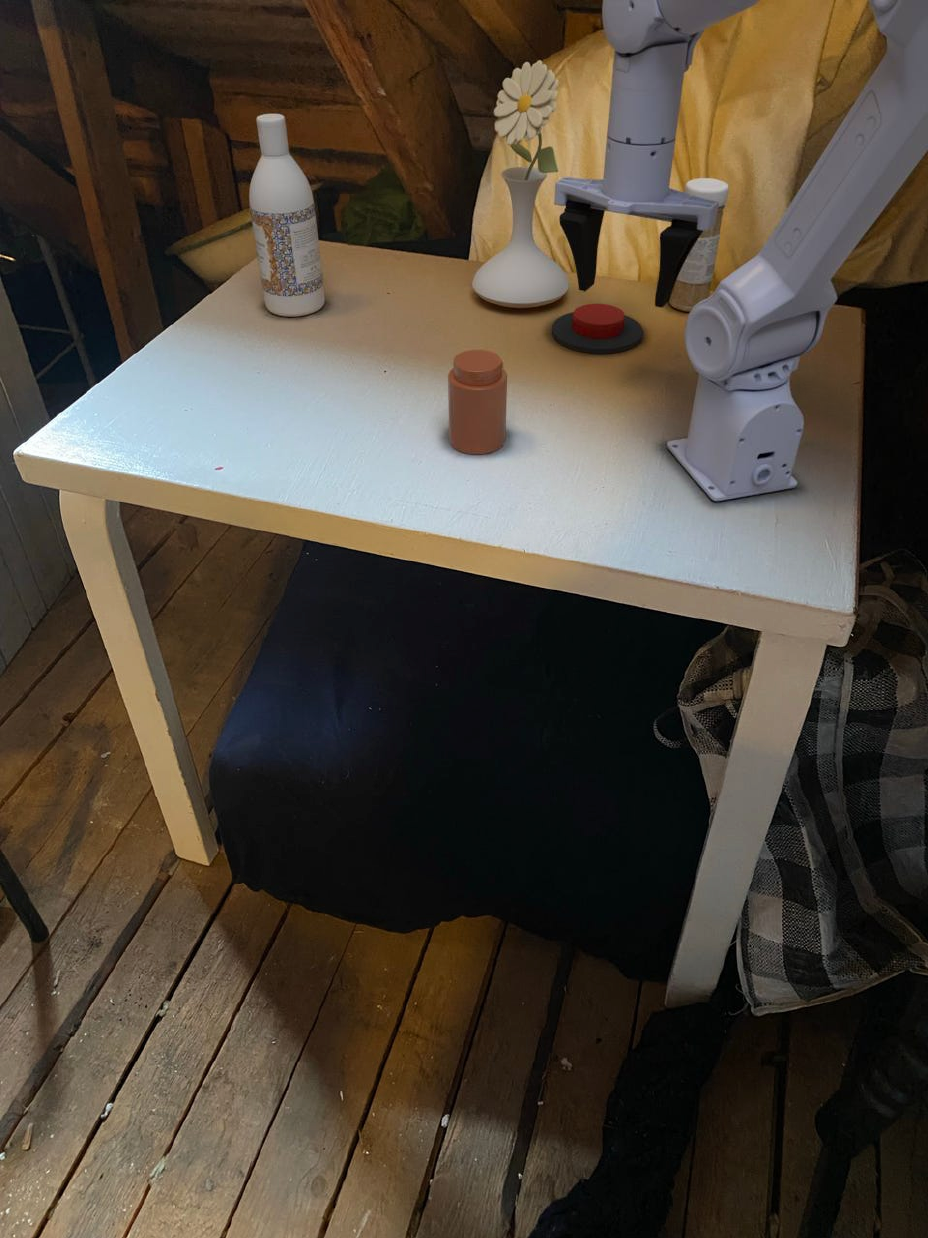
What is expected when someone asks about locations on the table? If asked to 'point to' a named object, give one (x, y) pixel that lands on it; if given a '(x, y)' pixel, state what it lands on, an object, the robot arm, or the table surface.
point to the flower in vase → (524, 195)
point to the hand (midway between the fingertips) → (623, 295)
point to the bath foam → (284, 226)
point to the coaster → (574, 341)
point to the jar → (477, 402)
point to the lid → (598, 321)
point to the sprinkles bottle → (700, 249)
